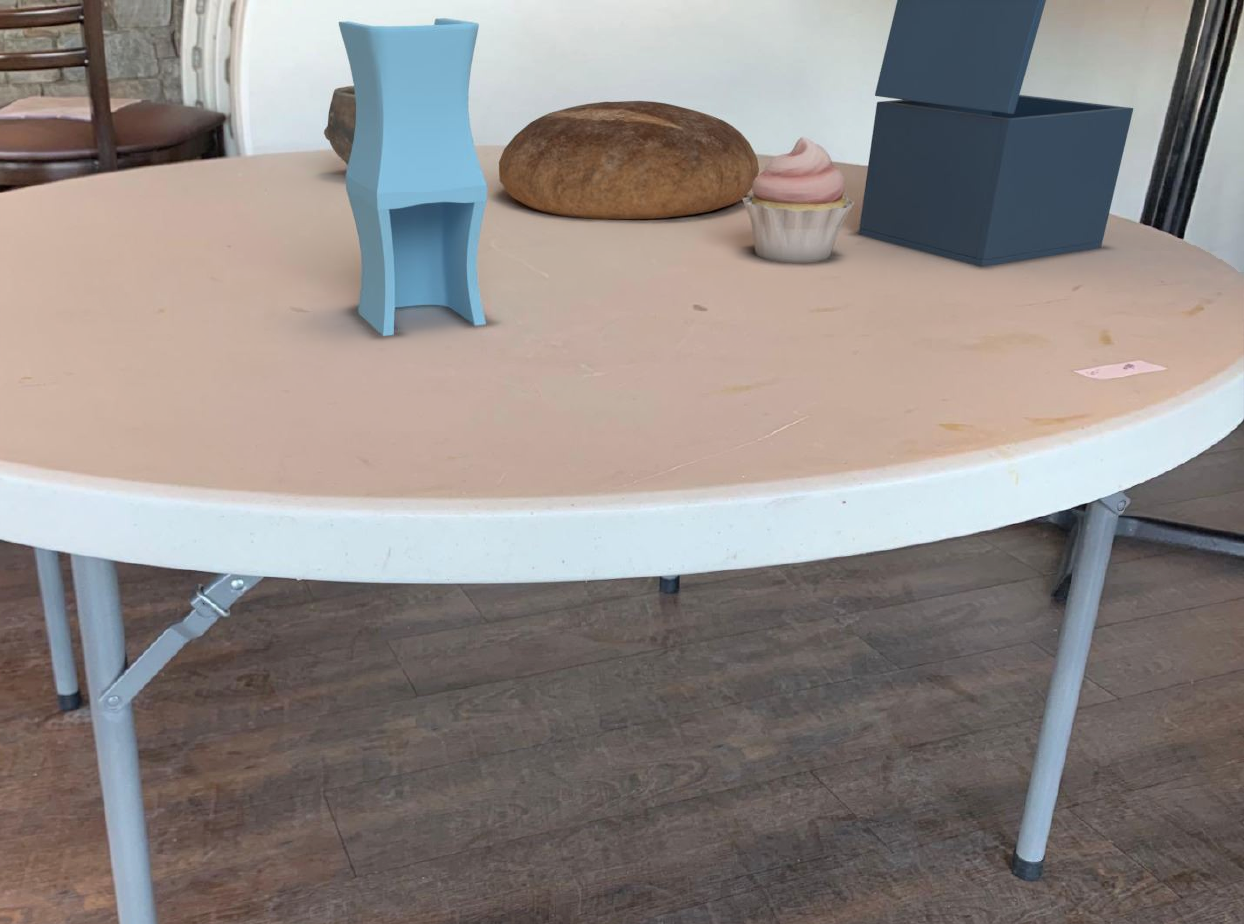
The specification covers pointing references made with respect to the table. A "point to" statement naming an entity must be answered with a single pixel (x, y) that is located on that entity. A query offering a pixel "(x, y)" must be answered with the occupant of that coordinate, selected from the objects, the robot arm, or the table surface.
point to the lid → (960, 52)
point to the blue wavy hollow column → (415, 169)
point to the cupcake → (798, 205)
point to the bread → (628, 162)
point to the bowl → (342, 122)
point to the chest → (993, 178)
